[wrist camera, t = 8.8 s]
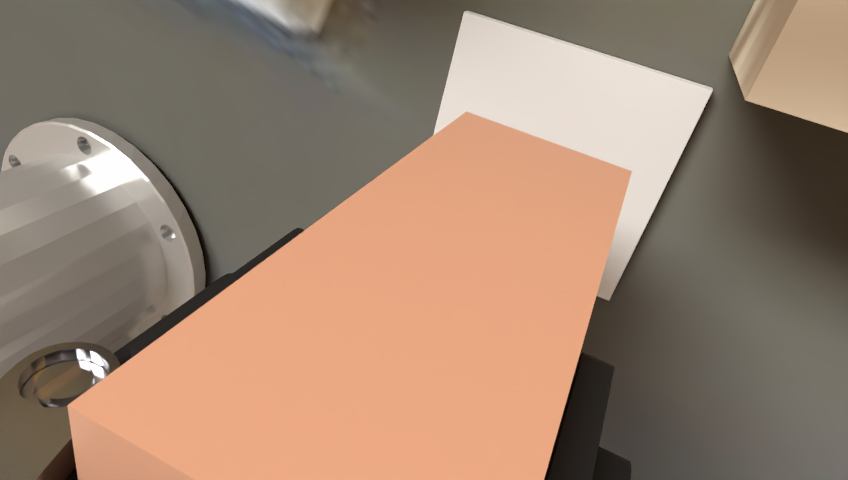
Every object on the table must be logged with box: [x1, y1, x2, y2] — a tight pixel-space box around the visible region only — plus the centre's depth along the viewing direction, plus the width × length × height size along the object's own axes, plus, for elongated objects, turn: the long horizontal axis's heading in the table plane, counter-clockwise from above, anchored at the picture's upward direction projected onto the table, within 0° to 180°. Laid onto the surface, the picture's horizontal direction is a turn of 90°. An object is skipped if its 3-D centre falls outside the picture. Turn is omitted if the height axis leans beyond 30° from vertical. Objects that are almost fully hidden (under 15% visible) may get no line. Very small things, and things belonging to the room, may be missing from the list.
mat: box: [433, 11, 713, 301], centre depth 20 cm, size 8×8×1 cm
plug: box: [67, 111, 632, 480], centre depth 11 cm, size 4×4×12 cm
